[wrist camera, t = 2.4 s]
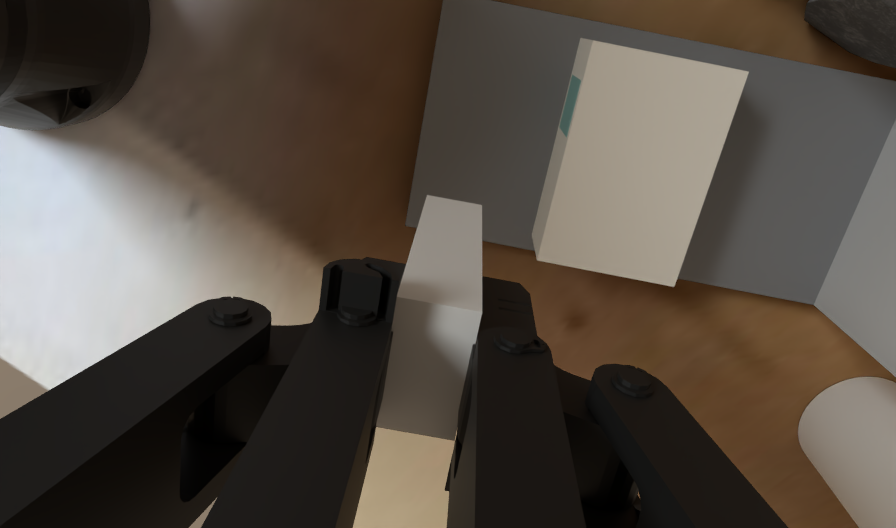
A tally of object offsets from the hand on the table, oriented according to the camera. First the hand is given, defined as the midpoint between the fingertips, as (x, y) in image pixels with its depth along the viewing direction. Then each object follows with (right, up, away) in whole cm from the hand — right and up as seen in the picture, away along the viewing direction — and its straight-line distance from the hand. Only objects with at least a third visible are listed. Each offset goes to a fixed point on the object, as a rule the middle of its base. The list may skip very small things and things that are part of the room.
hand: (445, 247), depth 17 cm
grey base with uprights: (+13, +6, +23) cm, 27 cm away
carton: (+10, +6, +21) cm, 24 cm away
